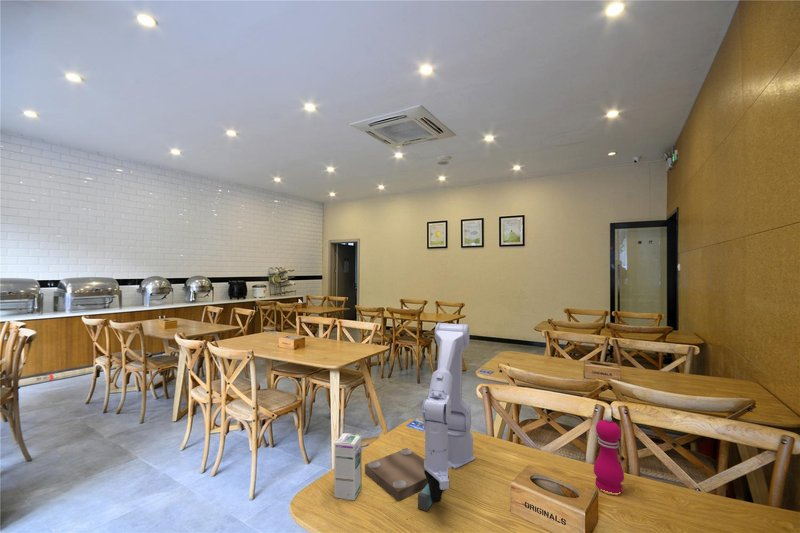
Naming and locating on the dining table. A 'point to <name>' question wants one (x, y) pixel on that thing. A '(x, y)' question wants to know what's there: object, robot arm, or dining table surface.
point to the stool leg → (424, 498)
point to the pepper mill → (608, 457)
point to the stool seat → (398, 473)
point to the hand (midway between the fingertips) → (435, 501)
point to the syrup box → (347, 466)
